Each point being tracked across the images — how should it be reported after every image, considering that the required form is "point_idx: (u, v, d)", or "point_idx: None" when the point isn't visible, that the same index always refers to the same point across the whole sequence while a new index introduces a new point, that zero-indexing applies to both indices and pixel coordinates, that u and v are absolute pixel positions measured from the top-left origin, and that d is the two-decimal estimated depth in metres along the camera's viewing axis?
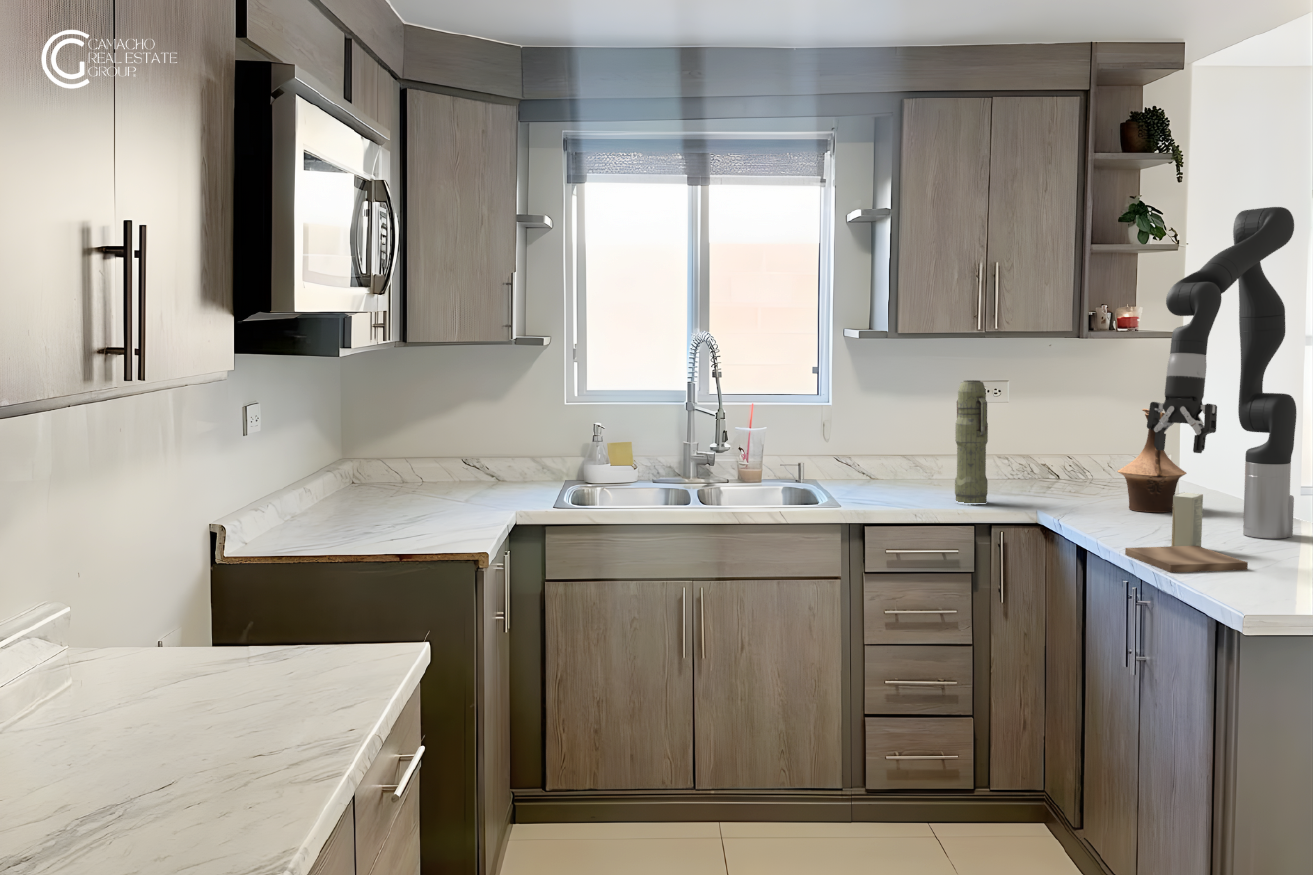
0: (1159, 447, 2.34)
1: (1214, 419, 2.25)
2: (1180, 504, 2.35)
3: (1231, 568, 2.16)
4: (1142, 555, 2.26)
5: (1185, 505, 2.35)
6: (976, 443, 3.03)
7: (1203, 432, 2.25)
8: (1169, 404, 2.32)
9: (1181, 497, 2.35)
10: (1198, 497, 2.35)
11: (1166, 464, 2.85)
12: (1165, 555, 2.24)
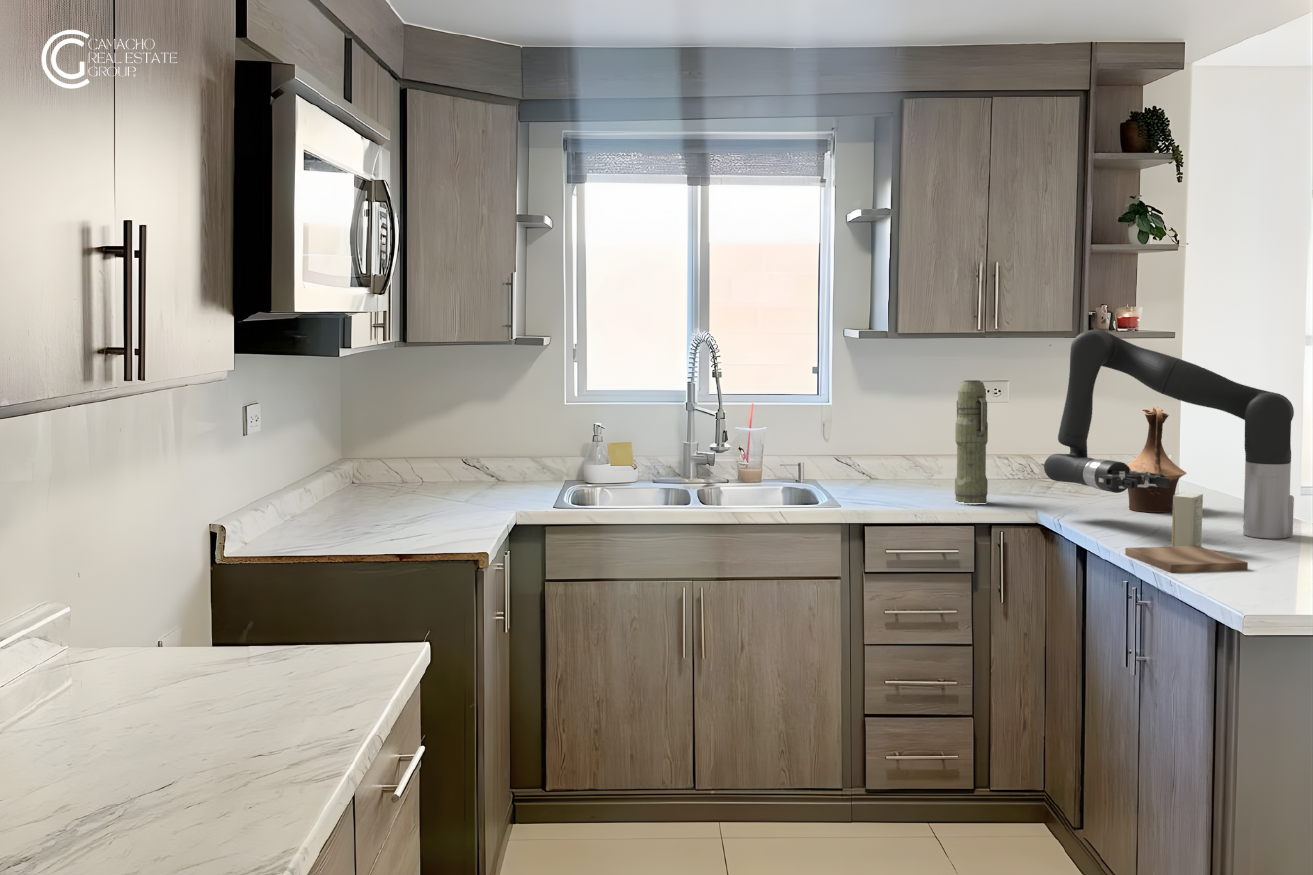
0: (1165, 486, 2.49)
1: (1105, 479, 2.53)
2: (1180, 504, 2.35)
3: (1231, 568, 2.16)
4: (1142, 555, 2.26)
5: (1185, 505, 2.35)
6: (976, 443, 3.03)
7: (1118, 485, 2.51)
8: None
9: (1181, 497, 2.35)
10: (1198, 497, 2.35)
11: (1166, 464, 2.85)
12: (1165, 555, 2.24)
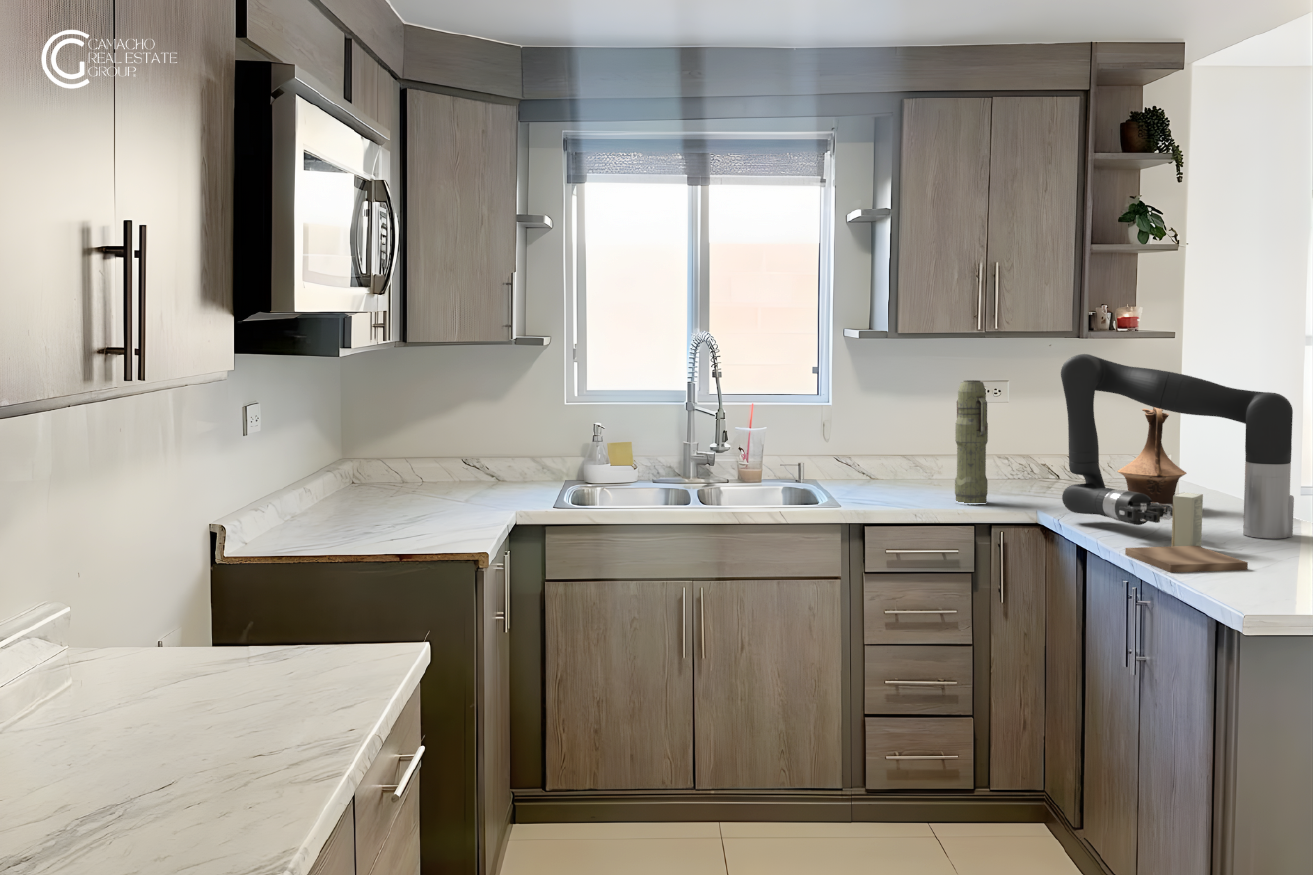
0: None
1: (1126, 512, 2.47)
2: (1180, 504, 2.35)
3: (1231, 568, 2.16)
4: (1142, 555, 2.26)
5: (1185, 505, 2.35)
6: (976, 443, 3.03)
7: None
8: None
9: (1181, 497, 2.35)
10: (1198, 497, 2.35)
11: (1166, 464, 2.85)
12: (1165, 555, 2.24)
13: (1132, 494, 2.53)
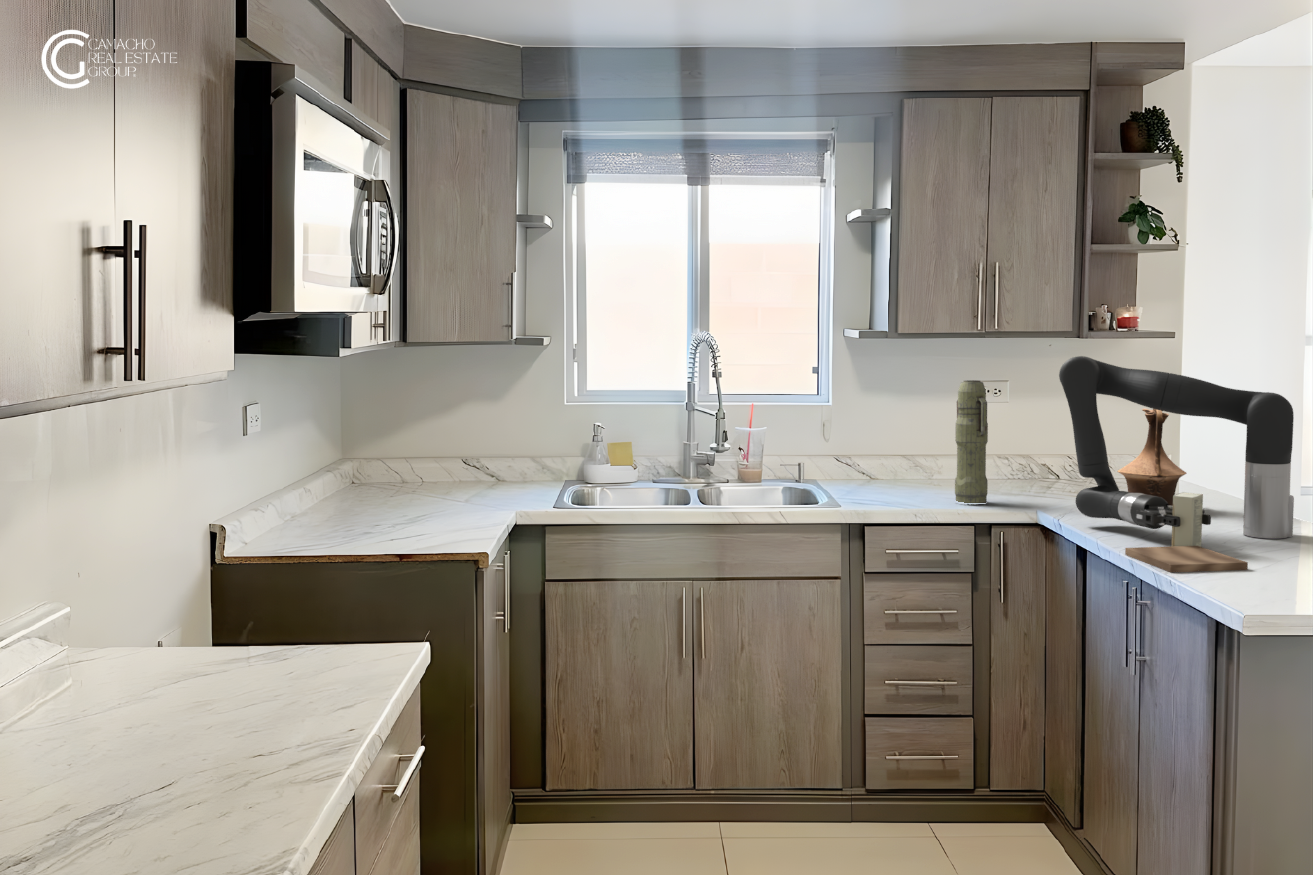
0: (1206, 523, 2.37)
1: (1145, 516, 2.41)
2: (1180, 504, 2.35)
3: (1231, 568, 2.16)
4: (1142, 555, 2.26)
5: (1185, 505, 2.35)
6: (976, 443, 3.03)
7: None
8: None
9: (1181, 497, 2.35)
10: (1198, 497, 2.35)
11: (1166, 464, 2.85)
12: (1165, 555, 2.24)
13: (1148, 497, 2.47)
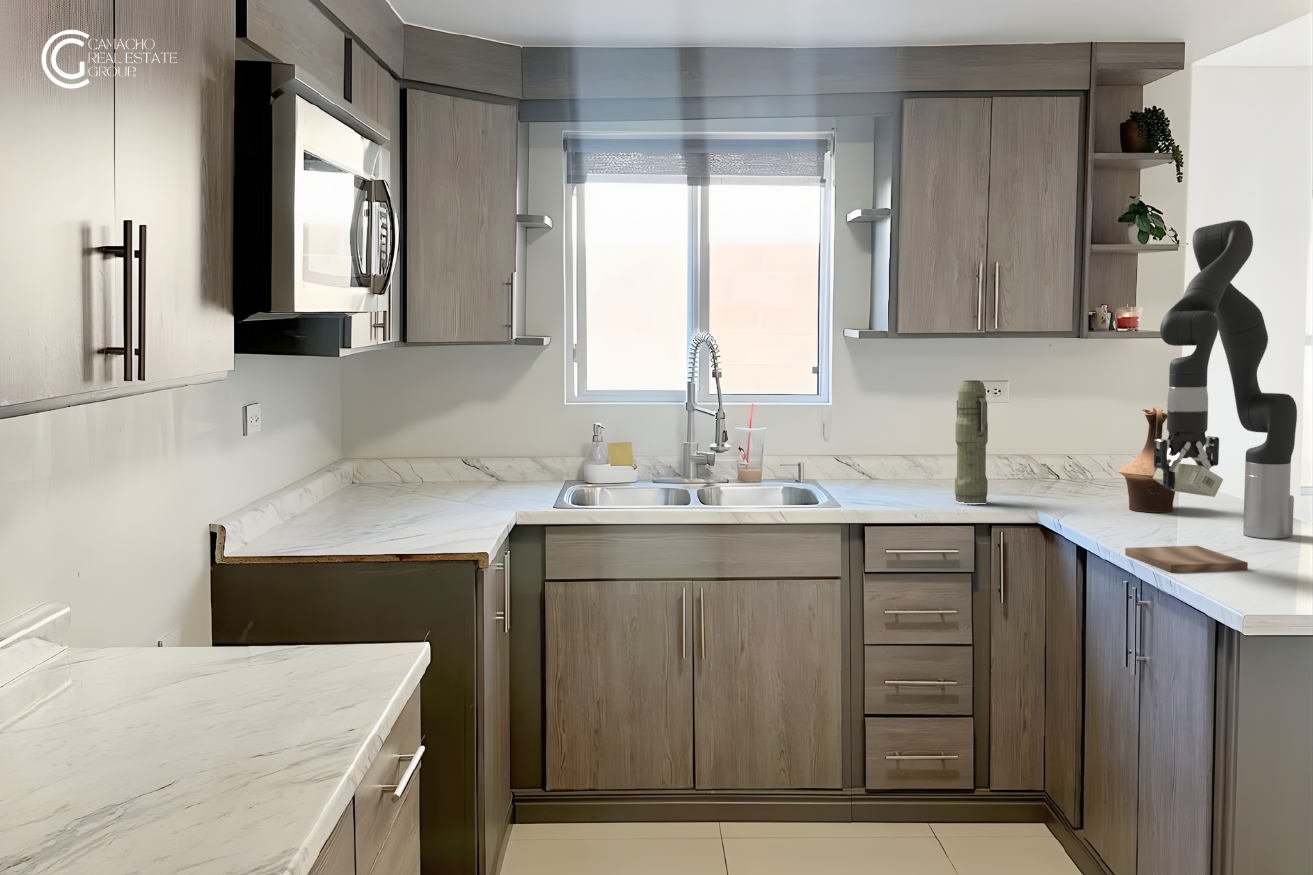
0: None
1: None
2: None
3: (1231, 568, 2.16)
4: (1142, 555, 2.26)
5: None
6: (976, 443, 3.03)
7: None
8: (1180, 439, 2.21)
9: None
10: None
11: None
12: (1165, 555, 2.24)
13: None
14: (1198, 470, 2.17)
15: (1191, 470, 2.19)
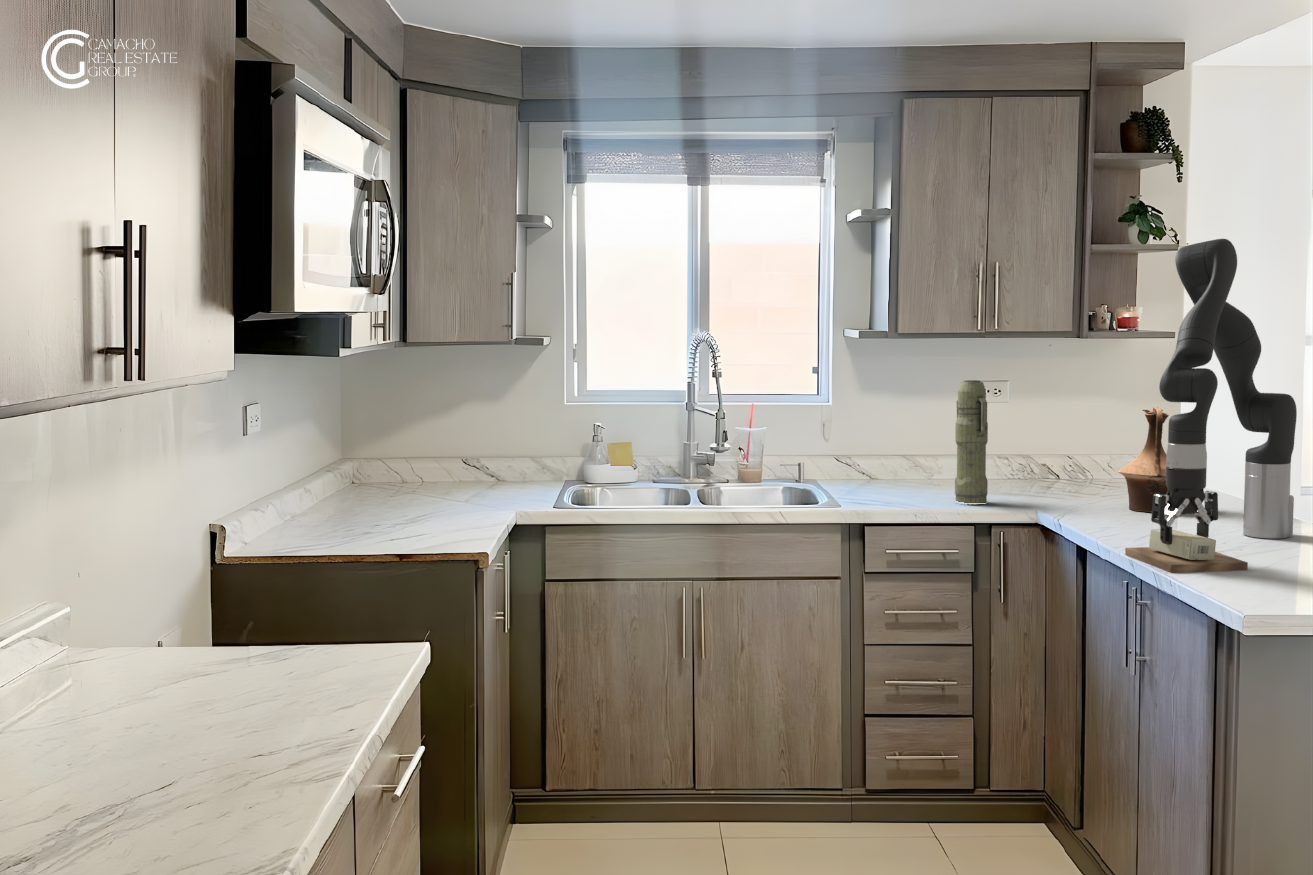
0: None
1: None
2: None
3: (1231, 568, 2.16)
4: (1142, 555, 2.26)
5: None
6: (976, 443, 3.03)
7: None
8: (1179, 496, 2.22)
9: None
10: None
11: None
12: (1165, 555, 2.24)
13: None
14: (1189, 544, 2.17)
15: (1183, 544, 2.19)
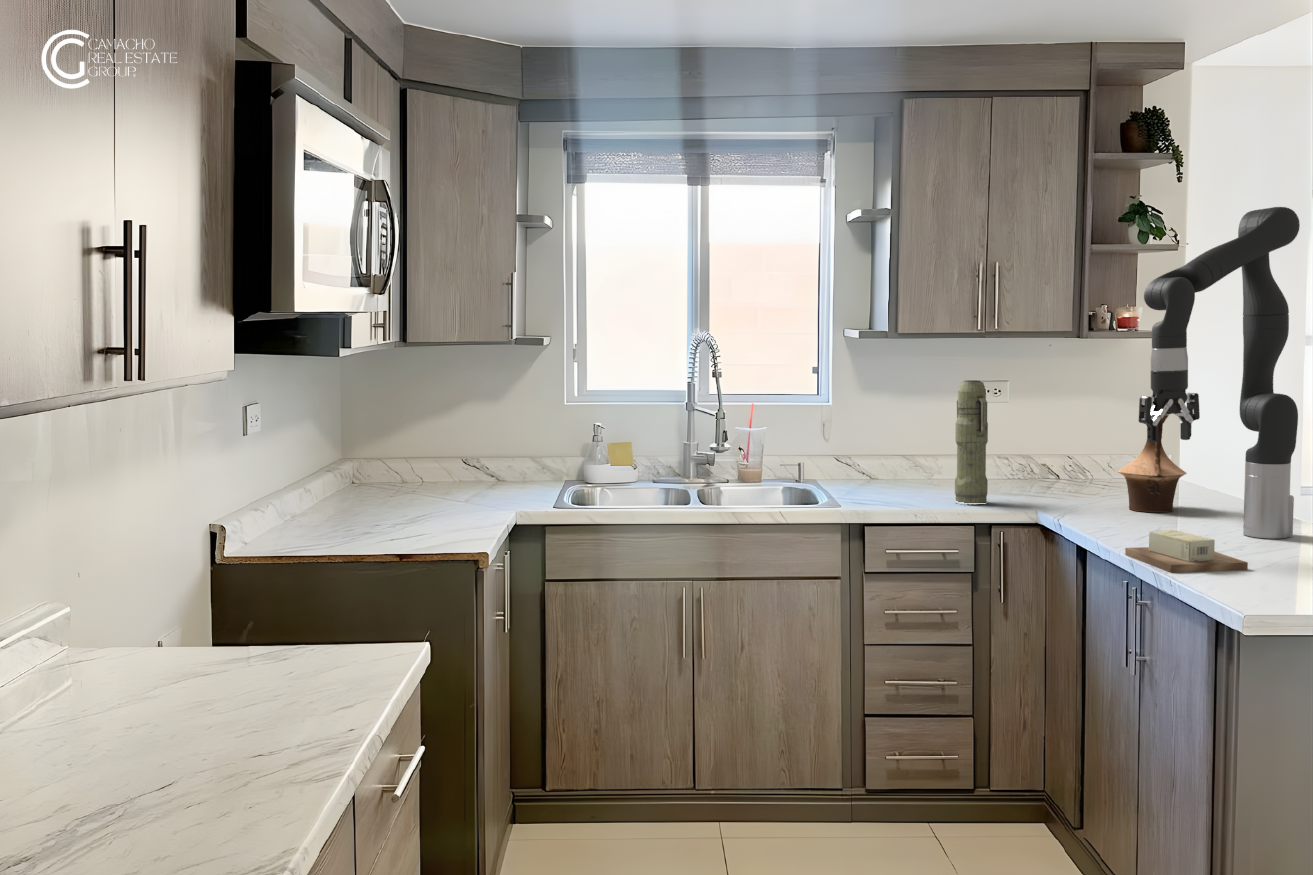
0: None
1: None
2: None
3: (1231, 568, 2.16)
4: (1142, 555, 2.26)
5: None
6: (976, 443, 3.03)
7: None
8: (1163, 397, 2.39)
9: None
10: None
11: (1166, 464, 2.85)
12: (1165, 555, 2.24)
13: None
14: (1188, 546, 2.17)
15: (1181, 546, 2.19)
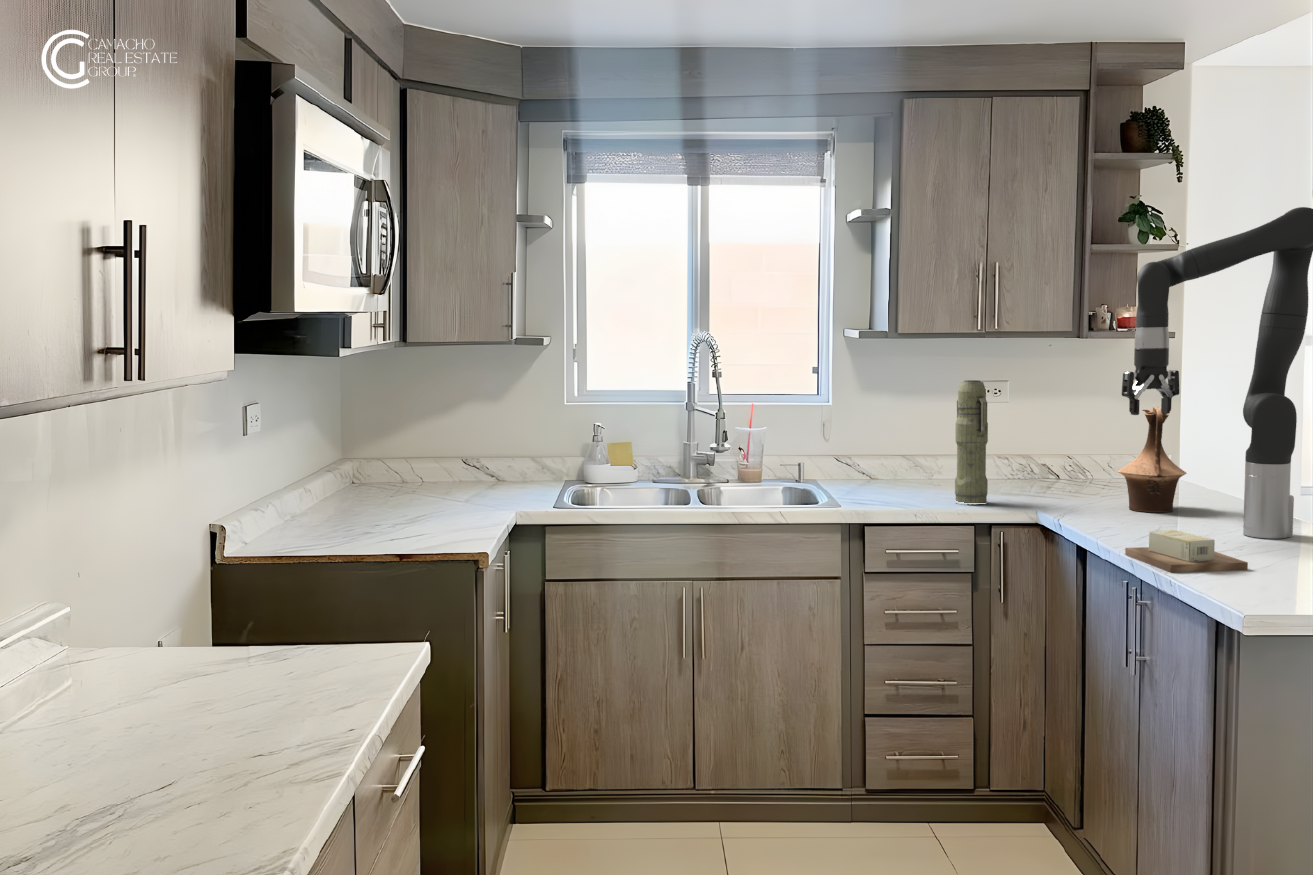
0: None
1: None
2: None
3: (1231, 568, 2.16)
4: (1142, 555, 2.26)
5: None
6: (976, 443, 3.03)
7: None
8: (1145, 373, 2.57)
9: None
10: None
11: (1166, 464, 2.85)
12: (1165, 555, 2.24)
13: None
14: (1188, 546, 2.17)
15: (1181, 546, 2.19)
